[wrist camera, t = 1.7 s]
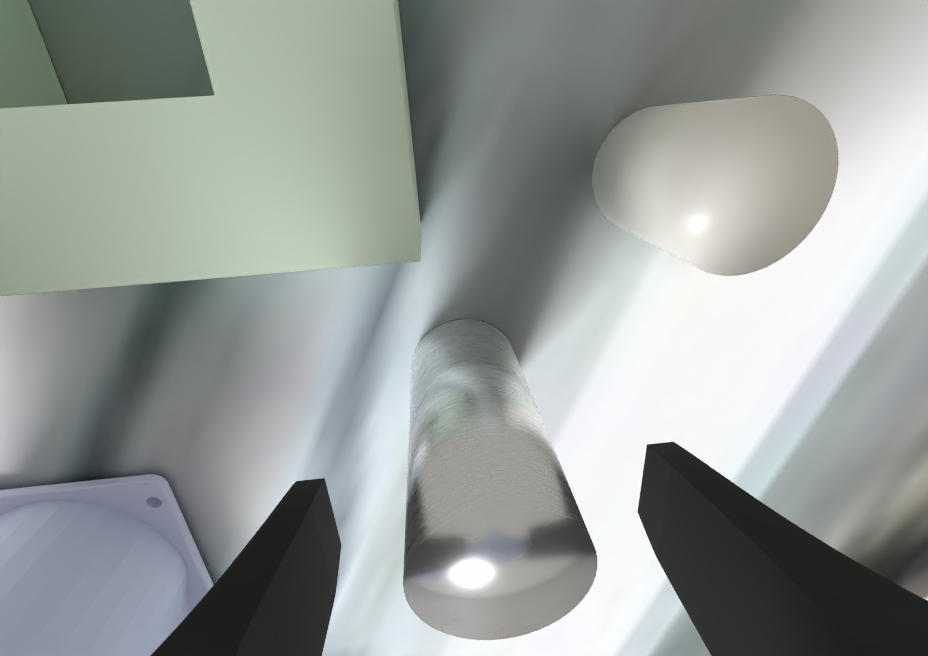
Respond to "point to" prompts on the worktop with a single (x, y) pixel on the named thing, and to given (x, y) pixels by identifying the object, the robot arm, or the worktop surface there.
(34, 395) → the worktop surface
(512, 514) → the long pin
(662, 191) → the short pin
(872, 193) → the worktop surface
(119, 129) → the hole block
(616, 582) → the worktop surface
